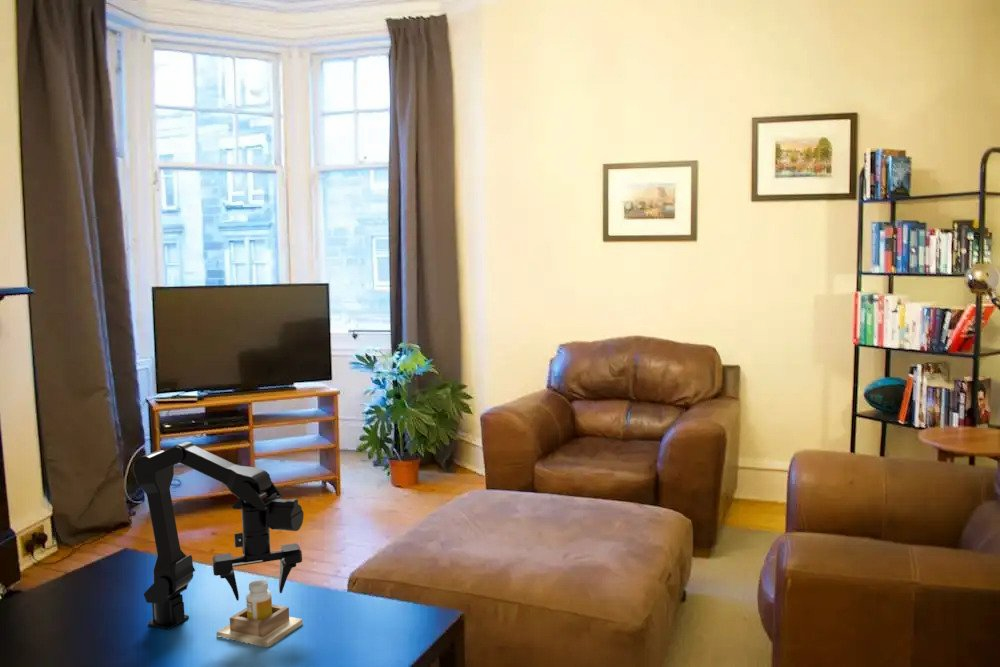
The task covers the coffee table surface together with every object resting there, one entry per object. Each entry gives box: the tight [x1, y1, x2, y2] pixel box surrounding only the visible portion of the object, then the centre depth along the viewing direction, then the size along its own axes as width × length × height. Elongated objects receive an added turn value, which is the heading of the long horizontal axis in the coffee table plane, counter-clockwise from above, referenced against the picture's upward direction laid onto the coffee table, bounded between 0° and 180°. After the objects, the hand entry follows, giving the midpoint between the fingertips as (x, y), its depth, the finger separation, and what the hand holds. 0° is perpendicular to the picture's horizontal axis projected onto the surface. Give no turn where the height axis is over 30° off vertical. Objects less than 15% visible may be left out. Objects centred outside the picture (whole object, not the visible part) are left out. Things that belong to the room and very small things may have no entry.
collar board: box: [216, 603, 304, 648], centre depth 180 cm, size 14×12×4 cm
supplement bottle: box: [245, 579, 273, 621], centre depth 180 cm, size 5×5×10 cm
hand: (259, 596), depth 179 cm, fingers open, 9 cm apart
